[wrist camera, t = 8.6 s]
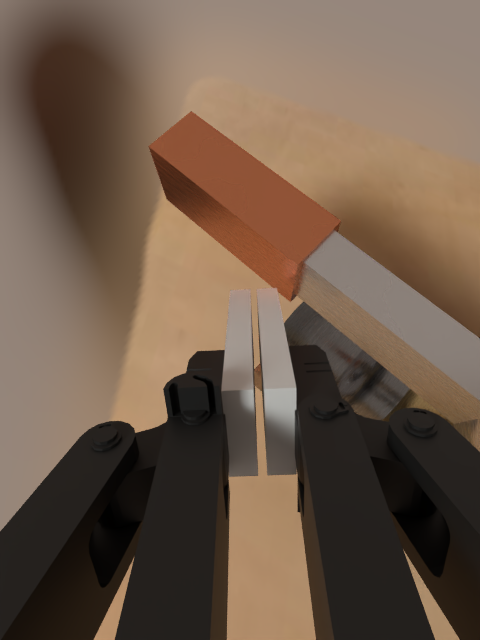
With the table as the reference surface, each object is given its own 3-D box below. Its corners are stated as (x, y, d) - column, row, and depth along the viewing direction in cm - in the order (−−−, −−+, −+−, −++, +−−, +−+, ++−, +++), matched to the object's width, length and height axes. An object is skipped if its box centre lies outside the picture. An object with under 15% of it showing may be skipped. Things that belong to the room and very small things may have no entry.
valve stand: (582, 519, 22) (818, 559, 13) (518, 626, 21) (732, 759, 11) (318, 312, 27) (351, 230, 17) (250, 388, 25) (246, 343, 16)
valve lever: (578, 437, 14) (687, 428, 11) (522, 520, 13) (618, 541, 10) (212, 159, 19) (202, 86, 15) (155, 209, 18) (129, 145, 14)
